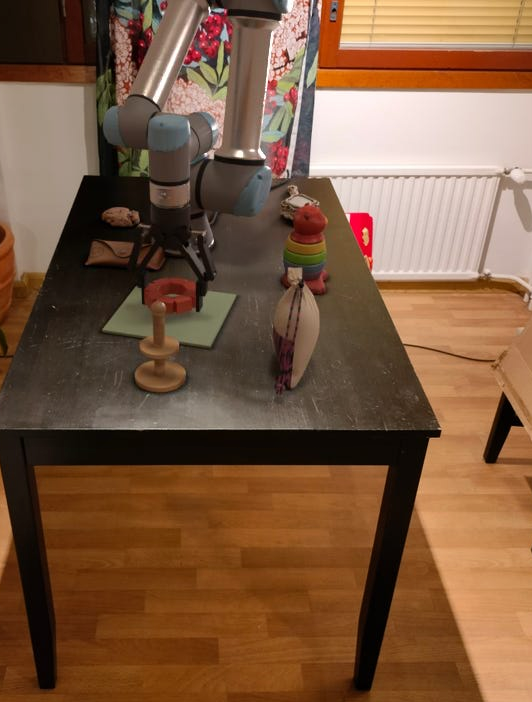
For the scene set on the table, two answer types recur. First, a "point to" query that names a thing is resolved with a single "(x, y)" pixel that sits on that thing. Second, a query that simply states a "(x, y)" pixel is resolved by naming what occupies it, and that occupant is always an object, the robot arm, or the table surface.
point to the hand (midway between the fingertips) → (172, 305)
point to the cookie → (120, 217)
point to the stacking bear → (307, 248)
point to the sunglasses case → (121, 254)
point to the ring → (173, 286)
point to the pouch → (295, 330)
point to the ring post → (159, 357)
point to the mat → (173, 319)
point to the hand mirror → (295, 202)
